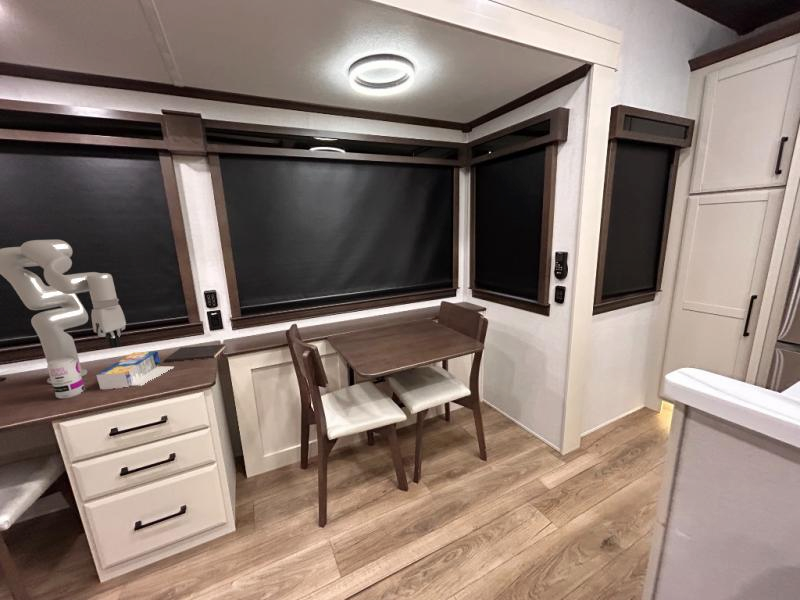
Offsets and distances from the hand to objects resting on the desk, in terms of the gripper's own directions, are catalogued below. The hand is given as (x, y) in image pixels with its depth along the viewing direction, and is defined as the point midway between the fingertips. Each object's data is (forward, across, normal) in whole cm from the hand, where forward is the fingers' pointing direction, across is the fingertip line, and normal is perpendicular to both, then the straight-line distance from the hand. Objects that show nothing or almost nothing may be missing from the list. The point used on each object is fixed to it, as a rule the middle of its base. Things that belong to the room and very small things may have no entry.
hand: (115, 346), depth 131 cm
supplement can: (+18, +9, -15) cm, 25 cm away
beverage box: (+14, +4, -1) cm, 15 cm away
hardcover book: (+18, -32, +9) cm, 38 cm away
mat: (+17, -7, 0) cm, 19 cm away
